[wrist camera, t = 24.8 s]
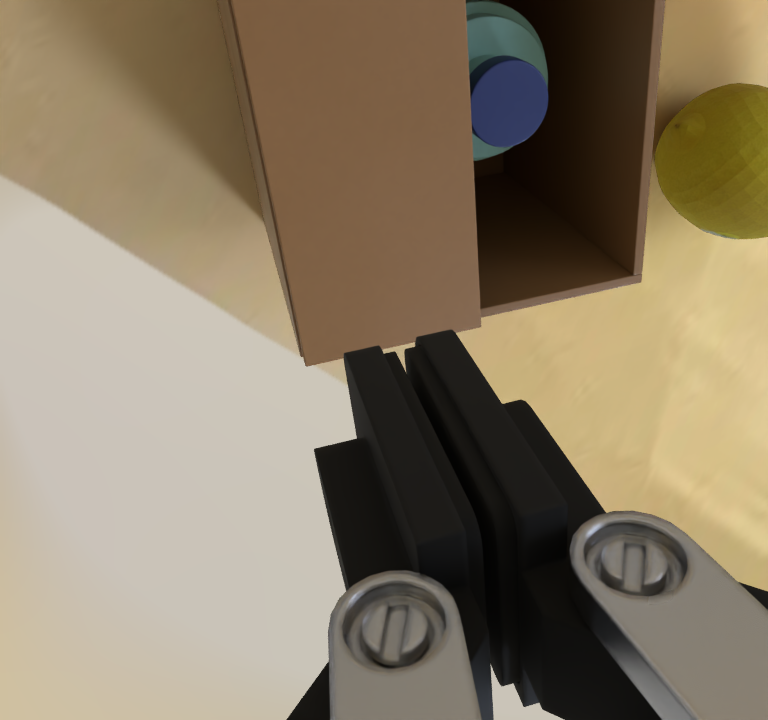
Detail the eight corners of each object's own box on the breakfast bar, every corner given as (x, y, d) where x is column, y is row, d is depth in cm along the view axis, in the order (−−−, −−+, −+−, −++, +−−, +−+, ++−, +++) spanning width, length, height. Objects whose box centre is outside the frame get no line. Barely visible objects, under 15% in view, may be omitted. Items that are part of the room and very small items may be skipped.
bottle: (363, 122, 38) (433, 202, 27) (347, -8, 34) (420, 26, 24) (475, 102, 38) (585, 172, 28) (469, -27, 35) (591, -2, 25)
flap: (304, 361, 27) (305, 367, 27) (208, -110, 19) (208, -110, 19) (478, 322, 28) (481, 327, 28) (454, -143, 20) (459, -143, 20)
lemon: (597, 161, 42) (676, 207, 35) (688, 34, 40) (790, 58, 33) (714, 243, 47) (802, 297, 40) (801, 135, 44) (911, 174, 38)
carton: (264, 222, 39) (300, 357, 27) (195, -102, 31) (204, -111, 19) (507, 175, 41) (641, 282, 29) (500, -142, 33) (680, -174, 21)
